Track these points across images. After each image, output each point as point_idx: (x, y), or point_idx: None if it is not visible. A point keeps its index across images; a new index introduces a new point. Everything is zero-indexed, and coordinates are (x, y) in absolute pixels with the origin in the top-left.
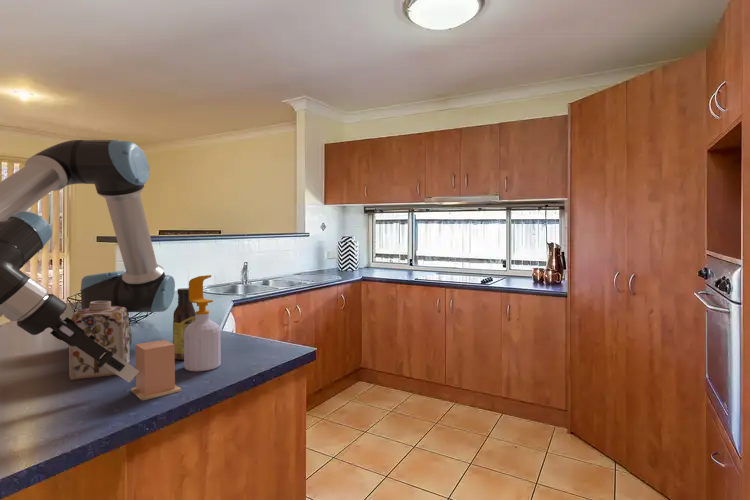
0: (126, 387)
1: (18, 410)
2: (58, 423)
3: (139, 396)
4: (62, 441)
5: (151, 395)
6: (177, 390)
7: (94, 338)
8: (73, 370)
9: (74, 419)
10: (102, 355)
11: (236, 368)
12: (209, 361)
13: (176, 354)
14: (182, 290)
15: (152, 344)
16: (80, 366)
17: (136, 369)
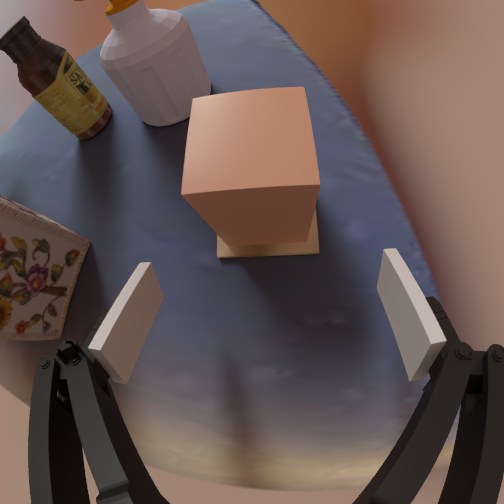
0: (182, 259)
1: (181, 462)
2: (327, 428)
3: (295, 253)
4: None
5: (315, 228)
6: None
7: (80, 347)
8: (48, 333)
9: (329, 402)
10: (140, 320)
11: (240, 60)
12: (206, 78)
13: (89, 129)
14: (11, 30)
15: (239, 139)
16: (45, 320)
17: (400, 256)
